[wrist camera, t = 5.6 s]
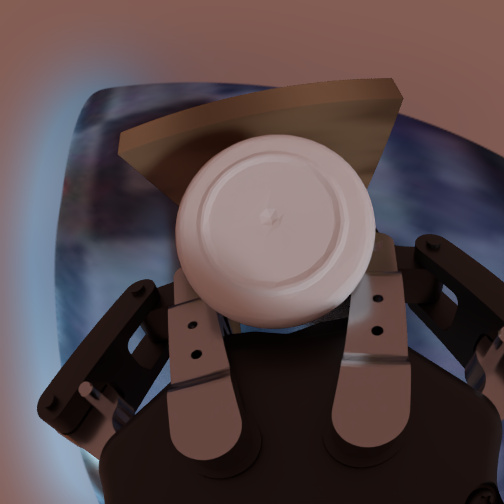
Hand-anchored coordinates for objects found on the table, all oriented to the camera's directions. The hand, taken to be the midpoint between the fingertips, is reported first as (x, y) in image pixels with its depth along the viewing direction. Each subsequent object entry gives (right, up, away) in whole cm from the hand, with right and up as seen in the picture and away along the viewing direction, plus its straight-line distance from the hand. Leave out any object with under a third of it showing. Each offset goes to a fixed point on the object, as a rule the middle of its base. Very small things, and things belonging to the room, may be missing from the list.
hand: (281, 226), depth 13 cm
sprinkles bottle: (+1, -3, +6) cm, 7 cm away
